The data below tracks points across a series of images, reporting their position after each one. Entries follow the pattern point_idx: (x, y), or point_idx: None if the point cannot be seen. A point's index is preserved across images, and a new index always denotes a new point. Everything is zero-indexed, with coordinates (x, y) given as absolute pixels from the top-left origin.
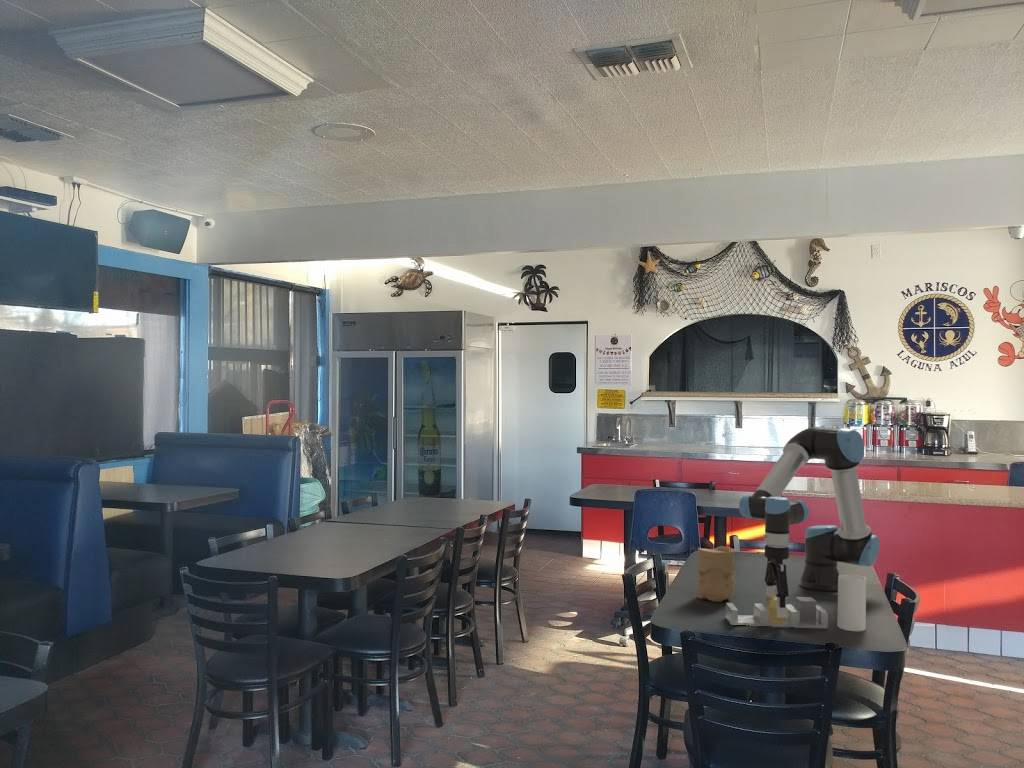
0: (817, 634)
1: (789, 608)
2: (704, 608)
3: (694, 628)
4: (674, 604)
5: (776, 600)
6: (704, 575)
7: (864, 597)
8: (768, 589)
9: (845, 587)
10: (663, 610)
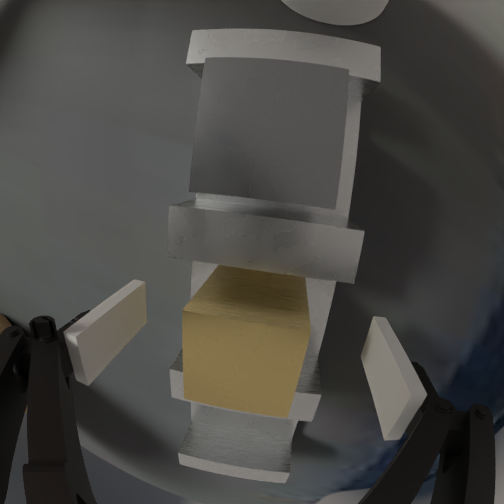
0: (443, 175)
1: (274, 259)
2: (107, 421)
3: (301, 493)
4: (98, 450)
5: (295, 385)
6: None
7: None
8: (98, 366)
9: None
10: (153, 484)
